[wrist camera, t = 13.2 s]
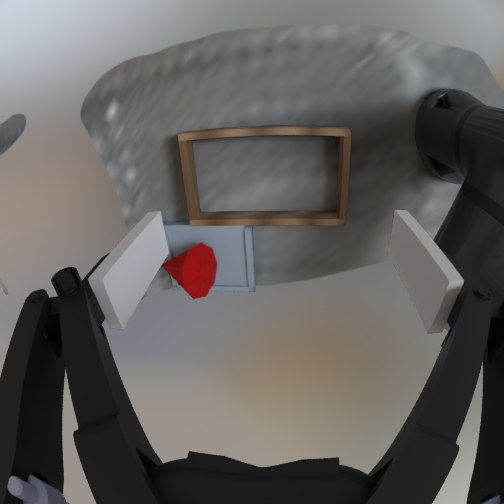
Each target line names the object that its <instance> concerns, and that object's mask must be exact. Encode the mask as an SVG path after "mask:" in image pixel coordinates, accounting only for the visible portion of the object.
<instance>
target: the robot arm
mask: <svg viewBox="0 0 504 504" xmlns="http://www.w3.org/2000/svg"><path fill="white" fill-rule="evenodd" d="M415 137H416V144H417V148H418V151H419V154H420V156H421V158H422V160H423V162H424V163H425V165H426V166H427V167H428V168H429V170H431V171H432V172H433V173H434V174H435V175H437V176H438V177H440V178H442V179H443V180H445V181H447V182H450V183H454V184H462V186H461V188H460V190H459V192H458V194H457V196H456V198H455V200H454V202H453V204H452V206H451V208H450V210H449V212H448V214H447V216H446V218H445V220H444V222H443V223H442V225H441V227H440V229H439V231H438V232H437V234H436V236H435V238H434V240H432V239H431V237H430V236H429V235H428V234H427V233H426V232H425V230H424V229H423V228H422V227H421V226H420V225H419V223H418V222H417V221H416V220H415V219H414V218H413V217H412V216H411V215H410V213H409V212H408V211H407V210H395V212H394V218H393V224H392V230H391V235H390V241H389V246H388V251H387V253H388V255H389V257H390V259H391V261H392V262H393V264H394V266H395V268H396V270H397V271H398V273H399V275H400V277H401V279H402V281H403V283H404V285H405V287H406V289H407V291H408V292H409V295H410V297H411V299H412V301H413V303H414V305H415V307H416V309H417V311H418V313H419V316H420V318H421V320H422V322H423V324H424V326H425V329H426V331H427V333H428V334H432V333H439V332H442V331H443V329H444V328H445V329H446V330H447V331H448V334H447V335H446V337H445V339H444V341H443V343H442V345H441V346H442V349H441V351H440V353H439V356H438V358H437V360H436V363H435V365H434V367H433V369H432V372H431V374H430V376H429V378H428V380H427V382H426V385H425V387H424V388H423V390H422V392H421V394H420V396H419V398H418V400H417V402H416V404H415V406H414V407H413V409H412V411H411V413H410V415H409V416H408V418H407V420H406V422H405V423H404V425H403V427H402V428H401V430H400V432H399V433H398V435H397V437H396V438H395V440H394V441H393V443H392V444H391V446H390V448H389V449H388V450H387V452H386V453H385V455H384V456H383V457H382V459H381V460H380V461H379V462H378V463H377V465H376V466H375V467H374V468H373V469H372V471H371V472H370V473H369V474H368V475H367V474H366V473H364V472H362V471H360V470H357V469H354V468H352V467H348V466H344V465H339V458H324V459H303V460H298V461H294V462H290V463H285V464H280V465H275V466H270V467H257V466H254V465H250V464H247V463H244V462H241V461H238V460H234V459H231V458H228V457H225V456H219V455H212V454H204V453H198V452H192V451H189V453H188V457H187V458H186V459H179V460H174V461H170V462H166V463H164V464H163V463H162V461H161V460H160V458H159V457H158V456H157V454H156V453H155V451H154V450H153V448H152V447H151V445H150V443H149V441H148V439H147V437H146V435H145V433H144V431H143V428H142V427H141V424H140V422H139V420H138V418H137V416H136V413H135V411H134V409H133V407H132V404H131V402H130V400H129V397H128V395H127V392H126V390H125V388H124V385H123V382H122V380H121V377H120V375H119V372H118V369H117V367H116V364H115V361H114V358H113V355H112V352H111V349H110V346H109V343H108V340H107V337H106V334H105V331H104V328H103V326H102V323H103V321H104V320H105V319H106V321H107V323H108V325H109V327H110V328H112V329H118V330H124V328H125V327H126V325H127V323H128V321H129V319H130V318H131V316H132V314H133V312H134V311H135V309H136V307H137V305H138V304H139V302H140V300H141V298H142V297H143V295H144V293H145V292H146V290H147V288H148V287H149V285H150V283H151V282H152V280H153V278H154V277H155V275H156V273H157V272H158V270H159V268H160V267H161V265H162V264H163V262H164V260H165V259H166V257H167V255H168V254H169V250H168V245H167V240H166V236H165V231H164V226H163V221H162V216H161V211H153V212H148V213H147V214H146V215H145V216H144V217H143V218H142V219H141V220H140V221H139V222H138V223H137V224H136V225H135V226H134V228H133V229H132V230H131V231H130V232H129V233H128V234H127V235H126V236H125V237H124V238H123V239H122V241H121V242H120V243H119V244H118V245H117V246H116V247H115V248H114V249H113V250H112V252H111V253H108V254H107V255H105V256H104V257H102V258H101V259H100V260H99V262H98V263H97V265H95V266H94V267H93V269H92V270H91V271H90V272H89V273H88V274H87V275H86V277H85V278H84V279H83V280H82V281H81V278H80V276H79V274H78V271H77V269H76V268H74V267H68V268H64V269H62V270H60V271H58V272H57V273H56V274H55V275H54V276H53V277H52V280H51V282H52V284H53V286H54V288H55V290H56V293H57V295H58V296H57V297H51V298H49V296H48V294H47V292H46V291H45V290H43V289H40V290H37V291H33V292H32V293H31V294H30V295H29V296H28V297H27V299H26V300H25V302H24V305H23V307H22V310H21V313H20V315H19V318H18V321H17V323H16V326H15V329H14V332H13V335H12V338H11V341H10V345H9V348H8V351H7V354H6V358H5V362H4V365H3V369H2V373H1V377H0V504H69V503H67V502H66V500H65V498H64V496H63V485H64V468H63V448H62V410H63V408H62V407H63V390H64V377H65V367H66V373H67V378H68V383H69V389H70V393H71V398H72V402H73V407H74V411H75V415H76V419H77V423H78V430H76V431H74V434H73V437H74V442H75V445H76V449H77V452H78V455H79V458H80V461H81V464H82V467H83V470H84V473H85V476H86V479H87V481H88V484H89V486H90V489H91V491H92V494H93V496H94V499H95V501H96V503H97V504H432V503H433V501H434V499H435V498H436V496H437V494H438V492H439V491H440V489H441V487H442V485H443V483H444V481H445V479H446V477H447V476H448V474H449V472H450V470H451V468H452V465H453V463H454V461H455V459H456V457H457V454H458V451H459V445H457V444H456V441H457V437H458V435H459V433H460V430H461V428H462V425H463V423H464V420H465V417H466V415H467V412H468V409H469V406H470V403H471V400H472V397H473V394H474V391H475V388H476V384H477V381H478V377H479V373H480V370H481V366H482V362H483V399H482V414H481V425H480V433H479V440H478V448H477V453H476V459H475V464H474V469H473V474H472V478H471V482H470V487H469V493H468V498H467V504H504V109H500V108H496V107H491V106H486V105H485V104H483V103H482V102H481V101H479V100H478V99H476V98H475V97H474V96H472V95H471V94H469V93H467V92H464V91H461V90H456V89H442V90H439V91H436V92H434V93H433V94H431V95H430V96H429V97H428V98H427V99H426V100H425V101H424V102H423V104H422V106H421V108H420V110H419V112H418V115H417V119H416V126H415Z"/></svg>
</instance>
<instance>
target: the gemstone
mask: <svg viewBox="0 0 504 504" xmlns="http://www.w3.org/2000/svg"><path fill="white" fill-rule="evenodd" d="M213 253H214V251H213V248H212V249H211V247H209V246H208V245H206V244H204V243H203V242H201V243H199V244H198V245H196V246H194V247H192V248H191V249H189V250H187V251H185V252H183V253H182V254H180V255H178V256H176V257H175V258H173V259H171V260H169V261H168V262H166V263H164V264H162V266H163V267H164V268H165V269H166V271H167V272H168V273H169V274H170V275H171V276H172V277H173V278H174V279H175V280H176V281H177V282H178V283H179V284H180V285H181V286H182V288H183V289H184V290H185V291H186V292H187V293H188V294H189V295H190V296H191V297H192V298H193V299H196V298H198V297H199V298H201V297H202V296H203V297H205V296H206V294H208V292H209V291H210V289H211V288H212V286H213V285H214V284H213V283H215V282H214V281H215V278H216V275H215V274H216V271H217V268H216V267H217V261H216V260H215V259H216V258H215V257H214V256H215V255H214V254H213Z"/></svg>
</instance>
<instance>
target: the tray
mask: <svg viewBox="0 0 504 504" xmlns="http://www.w3.org/2000/svg"><path fill="white" fill-rule="evenodd" d="M163 226H164V231H165V236H166V240H167V245H168V250H169V254H168V255H167V257H166V259H167V262H168V261H169V260H171V259H173V258H175V257H176V256H178V255H180V254H182V253H183V252H185V251H187V250H189V249H191V248H192V247H194V246H196V245H198V244H199V243H201V242H203V243H204V244H206V245H208V246H209V247H211V249H212V248H213V251H214V253H213V254H214V255H215V256H214V257H215V258H216V259H215V260H216V261H217V267H216V268H217V271H216V274H215V275H216V278H215V281H214V282H215V283H213V284H214V285H213V286H212V288H211V289H210V291H229V292H232V291H233V292H255V288H256V282H255V265H254V248H253V232H252V225H239V226H190V221H180V222H163ZM170 276H171V275H170ZM171 280H172V283H173V287H174V290H184V289H183V288H182V286H181V285H180V284H179V283H178V282H177V281H176V280H175V279H174V278H173V277H172V276H171Z"/></svg>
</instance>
